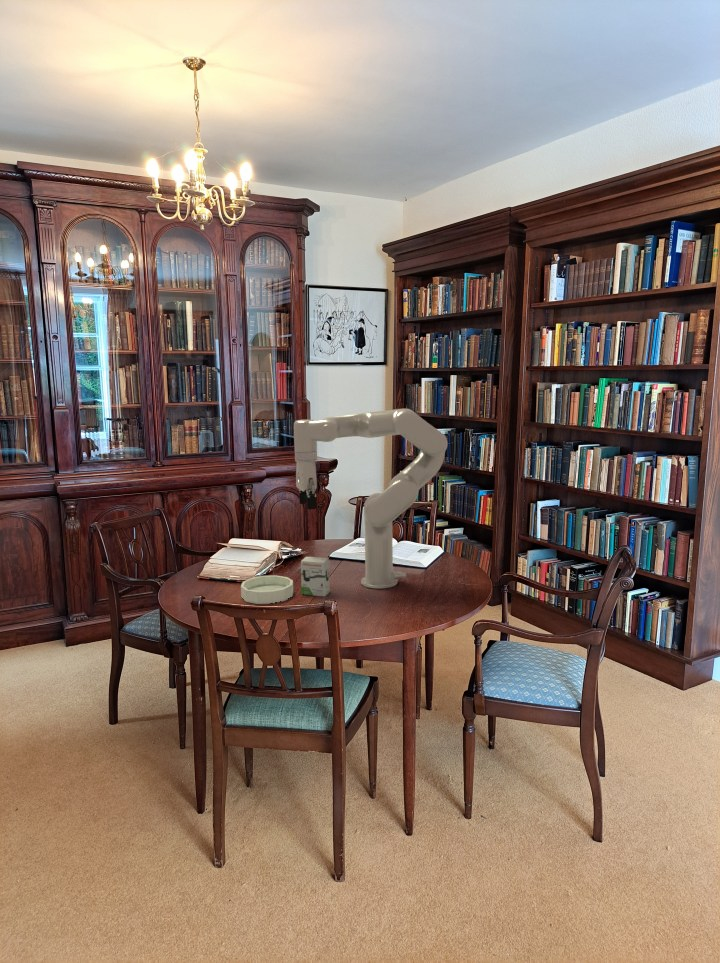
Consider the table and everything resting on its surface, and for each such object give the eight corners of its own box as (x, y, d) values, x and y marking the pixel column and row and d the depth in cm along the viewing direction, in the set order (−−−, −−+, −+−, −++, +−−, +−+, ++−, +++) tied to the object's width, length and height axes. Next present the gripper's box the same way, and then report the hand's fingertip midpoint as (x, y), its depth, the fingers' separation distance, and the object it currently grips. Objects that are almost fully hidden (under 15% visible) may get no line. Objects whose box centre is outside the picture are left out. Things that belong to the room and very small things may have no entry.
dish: (294, 585, 223) (293, 574, 223) (291, 602, 207) (291, 590, 206) (245, 587, 222) (244, 576, 222) (238, 604, 206) (238, 592, 205)
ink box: (300, 594, 214) (299, 560, 212) (306, 589, 219) (305, 556, 217) (325, 596, 212) (324, 562, 210) (330, 592, 216) (329, 557, 214)
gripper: (289, 454, 224) (291, 502, 227) (301, 460, 208) (303, 512, 211) (309, 453, 226) (311, 500, 229) (324, 458, 210) (325, 510, 213)
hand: (307, 506), depth 220 cm, fingers open, 9 cm apart
